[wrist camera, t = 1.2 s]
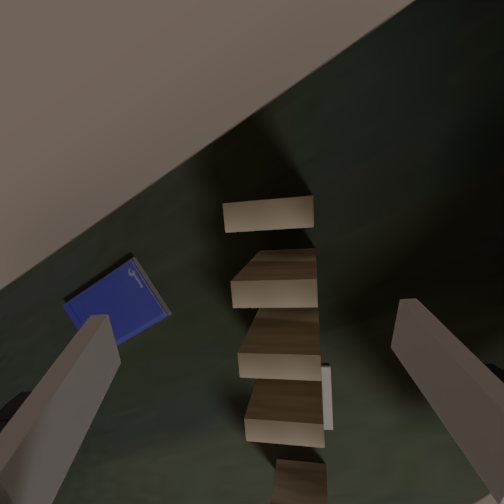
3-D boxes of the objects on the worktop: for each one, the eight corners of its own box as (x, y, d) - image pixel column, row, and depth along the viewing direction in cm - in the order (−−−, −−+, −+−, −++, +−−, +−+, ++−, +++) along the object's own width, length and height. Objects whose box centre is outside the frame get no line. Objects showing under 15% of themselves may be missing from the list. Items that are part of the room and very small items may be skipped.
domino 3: (318, 315, 33) (321, 381, 21) (265, 315, 34) (240, 377, 23) (317, 297, 32) (320, 355, 21) (263, 298, 34) (237, 353, 22)
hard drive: (129, 258, 35) (60, 305, 38) (167, 316, 36) (95, 358, 39) (137, 255, 37) (70, 301, 40) (173, 311, 37) (104, 352, 40)
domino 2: (316, 266, 32) (317, 307, 20) (261, 268, 33) (233, 308, 22) (315, 248, 32) (316, 279, 20) (259, 250, 33) (230, 281, 21)
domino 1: (313, 214, 31) (313, 227, 19) (257, 218, 32) (225, 232, 21) (313, 195, 31) (312, 195, 19) (255, 200, 32) (222, 203, 20)
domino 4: (320, 361, 34) (324, 448, 22) (268, 359, 35) (246, 440, 24) (320, 344, 33) (323, 424, 22) (267, 343, 35) (244, 418, 23)
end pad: (332, 428, 35) (333, 430, 35) (265, 423, 37) (265, 425, 36) (330, 365, 34) (330, 367, 33) (260, 363, 35) (260, 364, 35)
